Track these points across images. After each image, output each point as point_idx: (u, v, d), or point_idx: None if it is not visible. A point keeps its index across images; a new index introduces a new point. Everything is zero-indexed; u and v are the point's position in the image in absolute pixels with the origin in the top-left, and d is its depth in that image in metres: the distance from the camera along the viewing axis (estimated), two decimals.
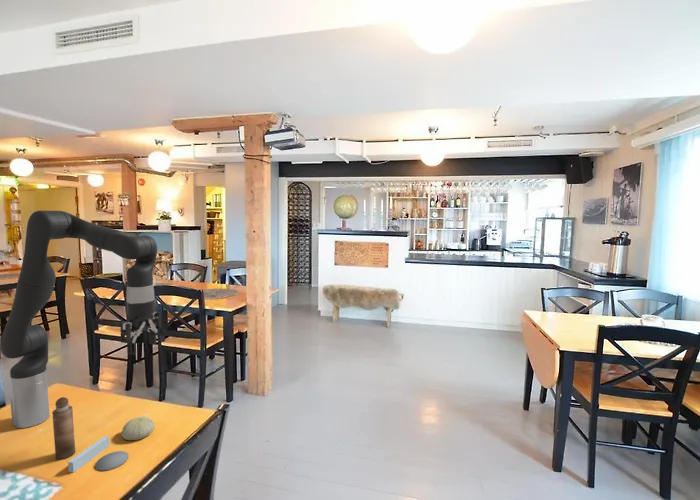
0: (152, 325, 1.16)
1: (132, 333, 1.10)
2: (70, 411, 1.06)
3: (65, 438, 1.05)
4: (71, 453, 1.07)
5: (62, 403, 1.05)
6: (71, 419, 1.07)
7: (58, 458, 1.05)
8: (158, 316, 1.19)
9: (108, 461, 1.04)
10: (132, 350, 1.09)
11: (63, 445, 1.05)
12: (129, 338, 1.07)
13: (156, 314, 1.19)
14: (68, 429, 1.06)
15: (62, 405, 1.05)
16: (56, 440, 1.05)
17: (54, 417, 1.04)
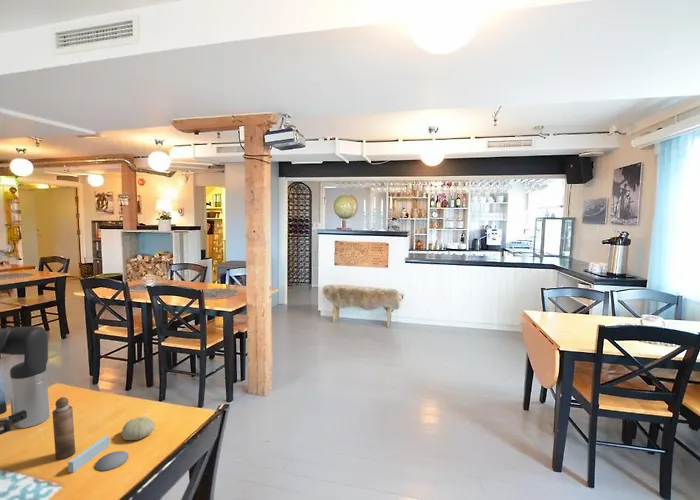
0: None
1: None
2: (70, 411, 1.06)
3: (65, 439, 1.05)
4: (71, 453, 1.07)
5: (62, 403, 1.05)
6: (71, 419, 1.07)
7: (58, 458, 1.05)
8: None
9: (108, 461, 1.04)
10: None
11: (63, 445, 1.05)
12: None
13: None
14: (68, 429, 1.06)
15: (62, 405, 1.05)
16: (56, 440, 1.05)
17: (54, 417, 1.04)
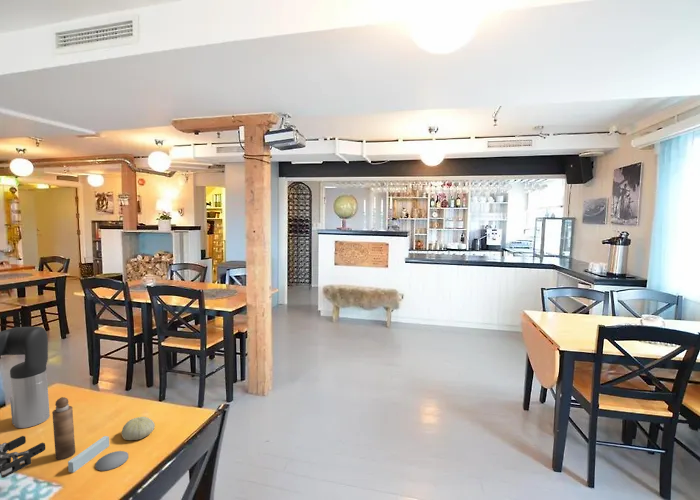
0: None
1: None
2: (70, 411, 1.06)
3: (65, 439, 1.05)
4: (71, 453, 1.07)
5: (62, 403, 1.05)
6: (71, 419, 1.07)
7: (58, 458, 1.05)
8: None
9: (108, 461, 1.04)
10: None
11: (63, 445, 1.05)
12: None
13: None
14: (68, 429, 1.06)
15: (62, 405, 1.05)
16: (56, 440, 1.05)
17: (54, 417, 1.04)
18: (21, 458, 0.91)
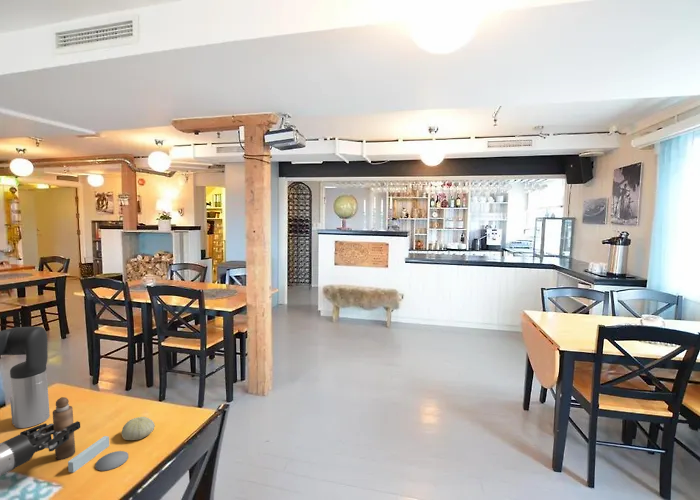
0: None
1: None
2: (70, 411, 1.06)
3: None
4: (70, 453, 1.07)
5: (62, 403, 1.05)
6: (71, 419, 1.07)
7: (58, 458, 1.05)
8: None
9: (108, 461, 1.04)
10: None
11: (63, 445, 1.05)
12: None
13: None
14: None
15: (62, 405, 1.05)
16: None
17: (54, 417, 1.04)
18: (62, 434, 1.01)
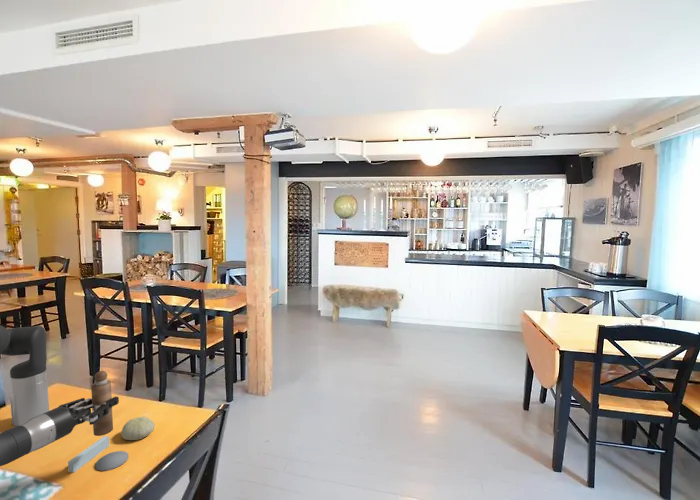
0: None
1: None
2: (109, 385, 1.02)
3: None
4: (109, 429, 1.02)
5: (101, 376, 1.01)
6: (110, 394, 1.02)
7: (96, 434, 1.01)
8: None
9: (108, 461, 1.04)
10: None
11: (101, 420, 1.01)
12: None
13: None
14: None
15: (101, 378, 1.01)
16: None
17: (93, 391, 1.00)
18: (102, 407, 0.97)
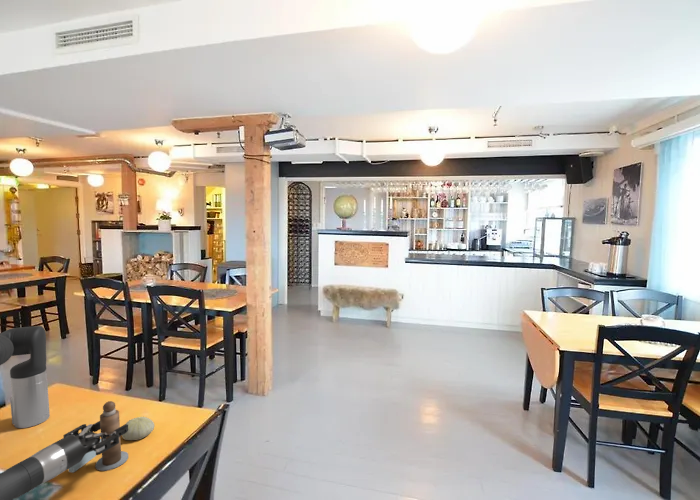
0: None
1: None
2: (117, 415, 1.03)
3: None
4: (117, 459, 1.04)
5: (110, 407, 1.02)
6: (118, 423, 1.04)
7: (105, 464, 1.02)
8: None
9: None
10: None
11: (110, 450, 1.02)
12: None
13: None
14: None
15: (110, 409, 1.02)
16: None
17: (102, 421, 1.01)
18: (111, 437, 0.97)
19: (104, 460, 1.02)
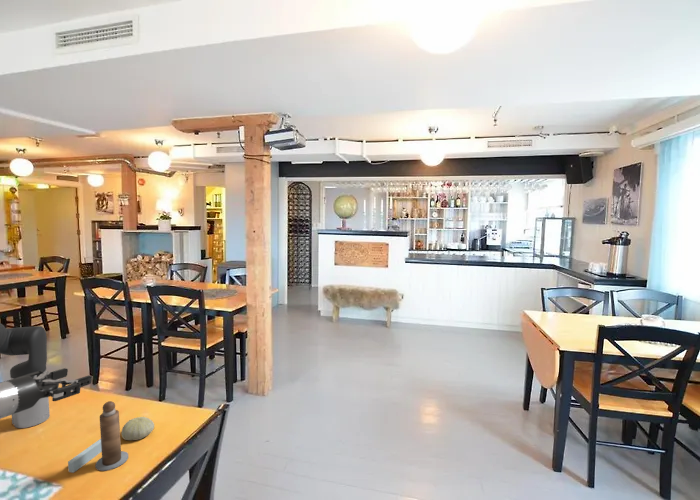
0: None
1: None
2: (117, 415, 1.03)
3: (112, 444, 1.02)
4: (117, 459, 1.04)
5: (109, 407, 1.02)
6: (118, 424, 1.04)
7: (105, 464, 1.02)
8: None
9: None
10: None
11: (110, 450, 1.02)
12: None
13: None
14: (115, 434, 1.03)
15: (109, 409, 1.02)
16: (103, 445, 1.02)
17: (102, 422, 1.01)
18: (72, 385, 0.87)
19: (104, 460, 1.02)
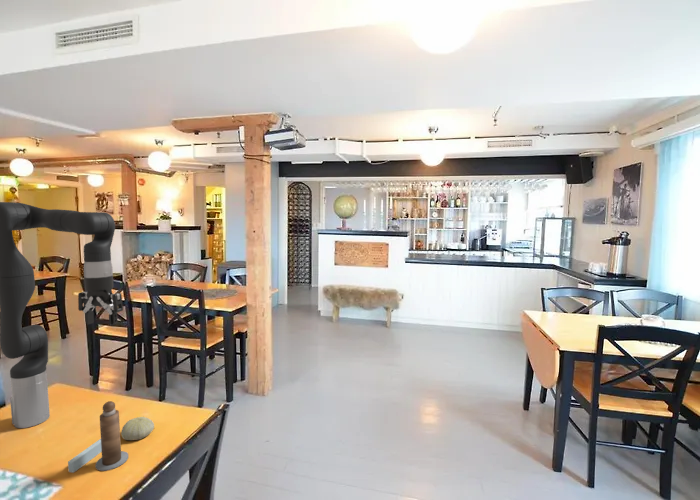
0: (102, 304, 1.14)
1: None
2: (117, 415, 1.03)
3: (112, 444, 1.02)
4: (117, 459, 1.04)
5: (109, 407, 1.02)
6: (118, 423, 1.04)
7: (105, 464, 1.02)
8: (113, 298, 1.13)
9: None
10: (86, 319, 1.16)
11: (110, 450, 1.02)
12: (80, 306, 1.16)
13: None
14: (115, 434, 1.03)
15: (109, 409, 1.02)
16: (103, 445, 1.02)
17: (102, 422, 1.01)
18: None
19: (104, 460, 1.02)
